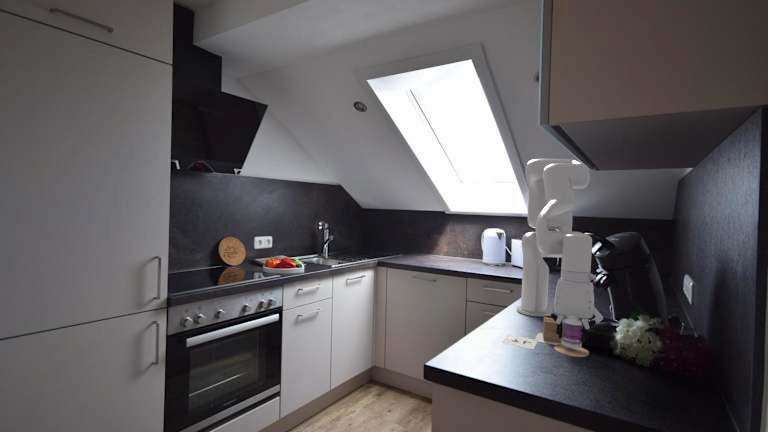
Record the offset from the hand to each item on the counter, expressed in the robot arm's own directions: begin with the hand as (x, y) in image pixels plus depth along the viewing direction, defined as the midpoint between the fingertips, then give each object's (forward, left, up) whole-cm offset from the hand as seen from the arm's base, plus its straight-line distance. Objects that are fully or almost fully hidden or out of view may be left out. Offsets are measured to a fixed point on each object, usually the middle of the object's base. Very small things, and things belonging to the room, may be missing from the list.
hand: (571, 338), depth 112 cm
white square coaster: (+1, -14, -4) cm, 14 cm away
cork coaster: (0, 0, -4) cm, 4 cm away
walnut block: (-7, -6, -3) cm, 10 cm away
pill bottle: (0, 0, -2) cm, 2 cm away
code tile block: (-7, -6, -4) cm, 10 cm away
